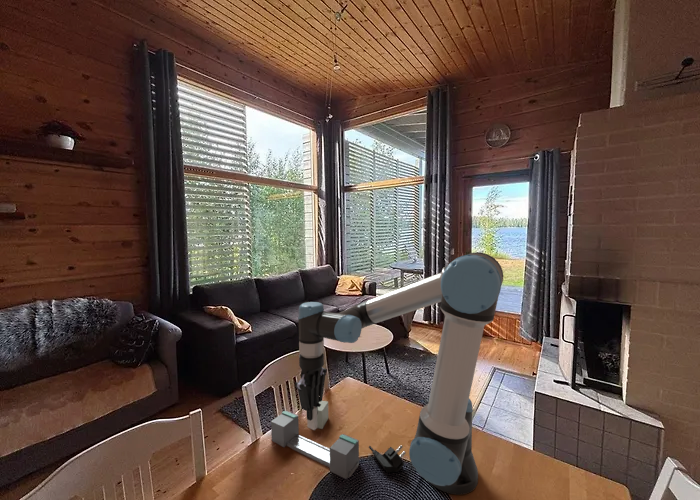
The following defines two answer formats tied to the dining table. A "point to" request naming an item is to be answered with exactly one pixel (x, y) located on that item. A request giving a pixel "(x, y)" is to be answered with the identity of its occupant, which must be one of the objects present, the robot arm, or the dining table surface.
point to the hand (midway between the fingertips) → (312, 427)
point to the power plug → (390, 459)
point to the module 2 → (322, 414)
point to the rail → (314, 451)
